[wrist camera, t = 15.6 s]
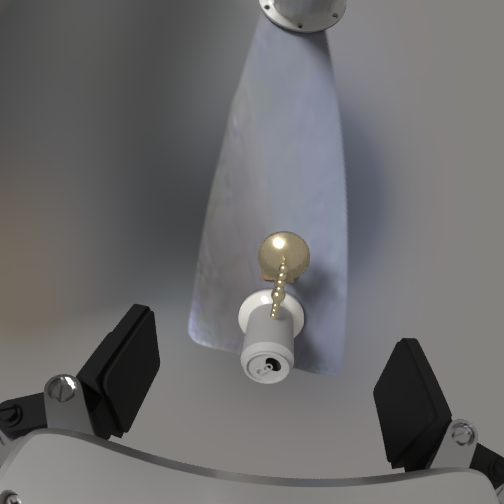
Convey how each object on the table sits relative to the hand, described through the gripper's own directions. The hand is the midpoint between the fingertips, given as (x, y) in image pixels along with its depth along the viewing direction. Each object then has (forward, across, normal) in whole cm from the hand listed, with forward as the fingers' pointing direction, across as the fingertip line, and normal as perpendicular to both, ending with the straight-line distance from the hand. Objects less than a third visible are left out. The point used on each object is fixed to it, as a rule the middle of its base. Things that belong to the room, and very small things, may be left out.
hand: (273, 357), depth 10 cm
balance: (+33, -1, +10) cm, 35 cm away
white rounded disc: (+33, -1, +22) cm, 40 cm away
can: (+32, -1, +21) cm, 39 cm away
